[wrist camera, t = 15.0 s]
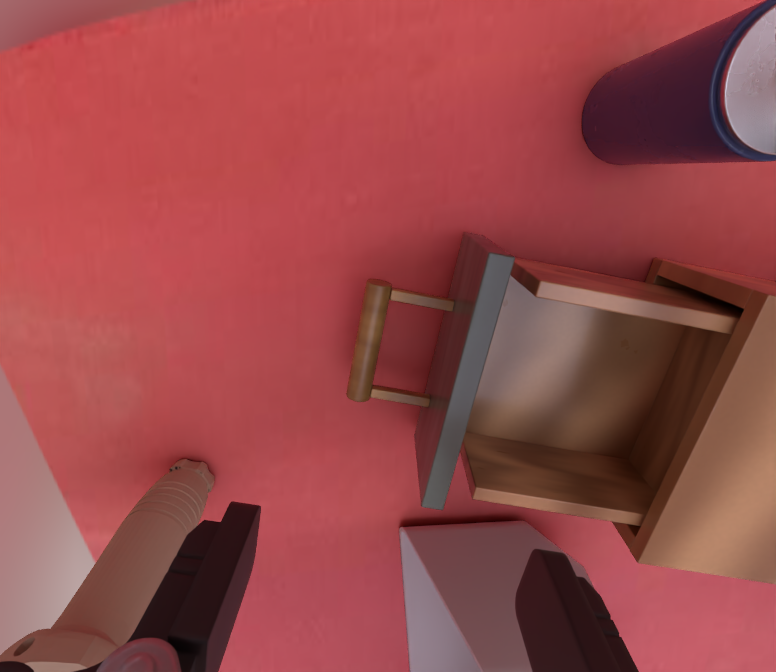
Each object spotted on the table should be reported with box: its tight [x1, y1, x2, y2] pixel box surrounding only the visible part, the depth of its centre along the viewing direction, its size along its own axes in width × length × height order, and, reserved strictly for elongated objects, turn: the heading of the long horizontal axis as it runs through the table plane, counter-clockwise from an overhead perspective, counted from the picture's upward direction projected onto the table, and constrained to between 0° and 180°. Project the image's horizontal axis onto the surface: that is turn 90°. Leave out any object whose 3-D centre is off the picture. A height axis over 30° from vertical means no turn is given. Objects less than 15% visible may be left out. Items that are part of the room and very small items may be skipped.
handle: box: [0, 459, 215, 672], centre depth 26 cm, size 5×6×15 cm
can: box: [582, 0, 776, 165], centre depth 20 cm, size 5×5×11 cm
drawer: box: [346, 232, 744, 526], centre depth 25 cm, size 20×14×7 cm
